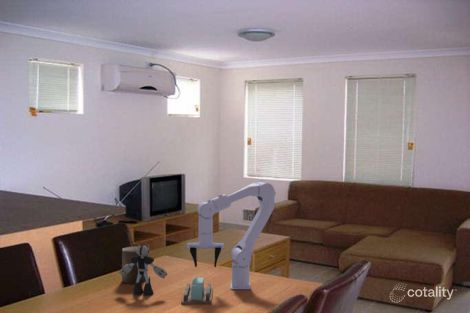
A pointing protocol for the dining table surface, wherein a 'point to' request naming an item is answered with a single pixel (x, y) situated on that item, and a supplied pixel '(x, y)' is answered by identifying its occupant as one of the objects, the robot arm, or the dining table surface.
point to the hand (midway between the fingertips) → (205, 266)
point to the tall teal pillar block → (197, 288)
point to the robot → (143, 270)
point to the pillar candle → (126, 259)
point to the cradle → (205, 300)
